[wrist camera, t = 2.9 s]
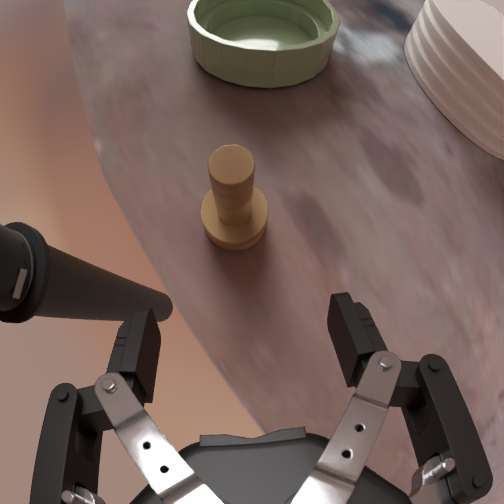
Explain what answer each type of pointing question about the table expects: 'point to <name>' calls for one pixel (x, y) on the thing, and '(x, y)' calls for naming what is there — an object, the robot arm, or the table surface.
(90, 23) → the table surface
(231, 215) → the pestle
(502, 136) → the plate stack
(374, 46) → the table surface
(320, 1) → the bowl
